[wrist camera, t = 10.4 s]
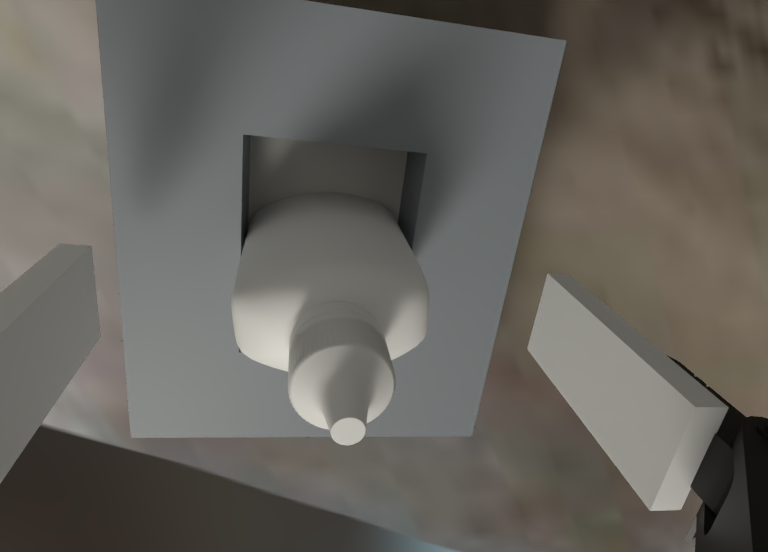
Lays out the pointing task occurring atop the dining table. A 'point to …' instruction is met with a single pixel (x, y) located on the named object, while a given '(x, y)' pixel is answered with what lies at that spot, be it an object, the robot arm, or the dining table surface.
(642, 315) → the dining table surface
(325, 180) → the hole block
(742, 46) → the dining table surface
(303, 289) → the eye dropper bottle
